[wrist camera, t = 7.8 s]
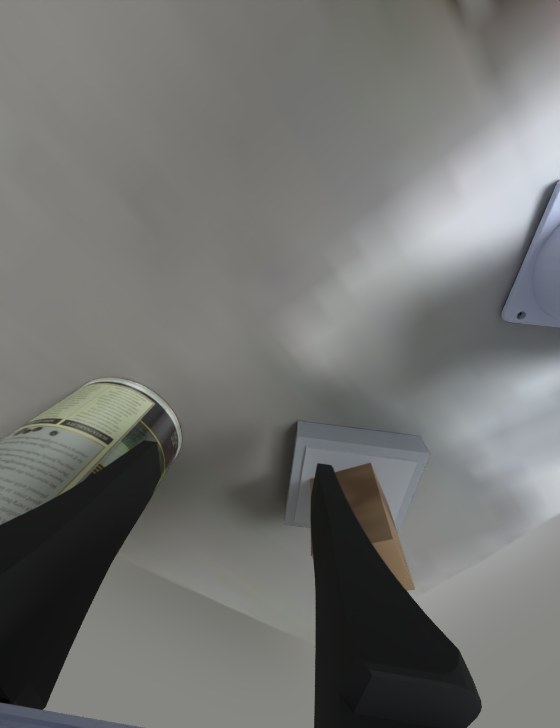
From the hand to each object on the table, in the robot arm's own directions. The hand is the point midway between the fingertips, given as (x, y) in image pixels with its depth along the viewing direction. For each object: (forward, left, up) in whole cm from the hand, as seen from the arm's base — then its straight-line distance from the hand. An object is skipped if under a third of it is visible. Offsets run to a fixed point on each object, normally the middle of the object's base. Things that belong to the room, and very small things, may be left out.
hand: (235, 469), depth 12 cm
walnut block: (-8, +9, -8) cm, 14 cm away
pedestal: (-8, +9, -10) cm, 16 cm away
